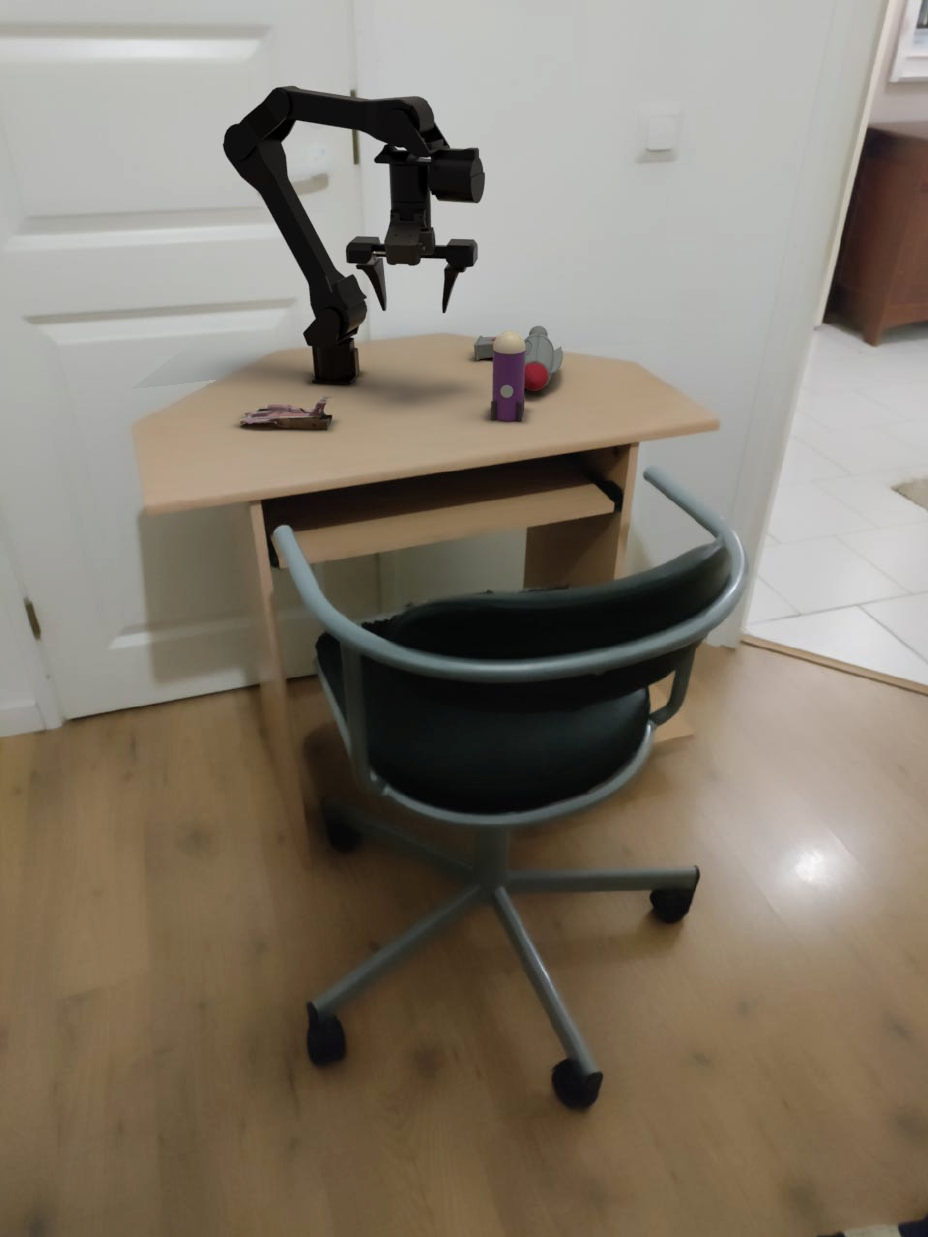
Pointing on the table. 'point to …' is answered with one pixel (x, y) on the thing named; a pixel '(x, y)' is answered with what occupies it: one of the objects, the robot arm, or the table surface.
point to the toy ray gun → (530, 357)
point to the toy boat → (291, 415)
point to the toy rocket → (508, 377)
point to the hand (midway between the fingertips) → (414, 311)
